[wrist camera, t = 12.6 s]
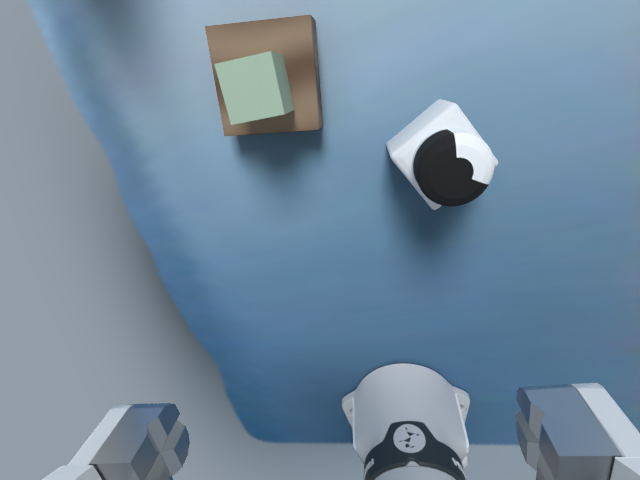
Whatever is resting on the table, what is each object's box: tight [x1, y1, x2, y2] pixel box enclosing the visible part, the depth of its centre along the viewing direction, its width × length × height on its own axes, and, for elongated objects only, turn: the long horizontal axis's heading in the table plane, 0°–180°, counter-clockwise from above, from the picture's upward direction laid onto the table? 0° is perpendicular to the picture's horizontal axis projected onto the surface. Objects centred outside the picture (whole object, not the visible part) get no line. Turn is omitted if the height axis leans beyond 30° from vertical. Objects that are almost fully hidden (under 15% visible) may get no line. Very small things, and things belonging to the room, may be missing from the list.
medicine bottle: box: [386, 99, 498, 210], centre depth 34 cm, size 7×7×12 cm
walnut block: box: [205, 15, 323, 136], centre depth 37 cm, size 10×10×4 cm
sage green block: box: [214, 51, 294, 125], centre depth 33 cm, size 5×5×5 cm
